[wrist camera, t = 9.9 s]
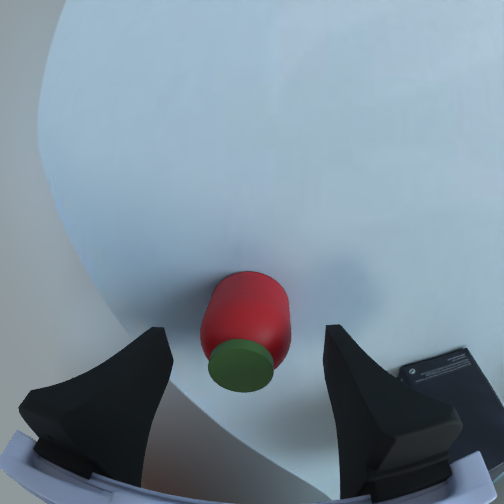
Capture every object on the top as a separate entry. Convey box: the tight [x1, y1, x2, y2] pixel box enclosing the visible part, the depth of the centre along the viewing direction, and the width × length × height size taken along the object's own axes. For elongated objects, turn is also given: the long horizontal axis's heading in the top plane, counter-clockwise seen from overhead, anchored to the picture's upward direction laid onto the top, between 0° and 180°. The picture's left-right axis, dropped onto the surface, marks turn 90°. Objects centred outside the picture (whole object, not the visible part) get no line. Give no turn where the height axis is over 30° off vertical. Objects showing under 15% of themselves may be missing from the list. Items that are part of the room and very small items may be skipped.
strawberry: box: [200, 272, 291, 392], centre depth 13 cm, size 4×4×5 cm
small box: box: [399, 348, 504, 481], centre depth 13 cm, size 11×6×10 cm, turn 10°
